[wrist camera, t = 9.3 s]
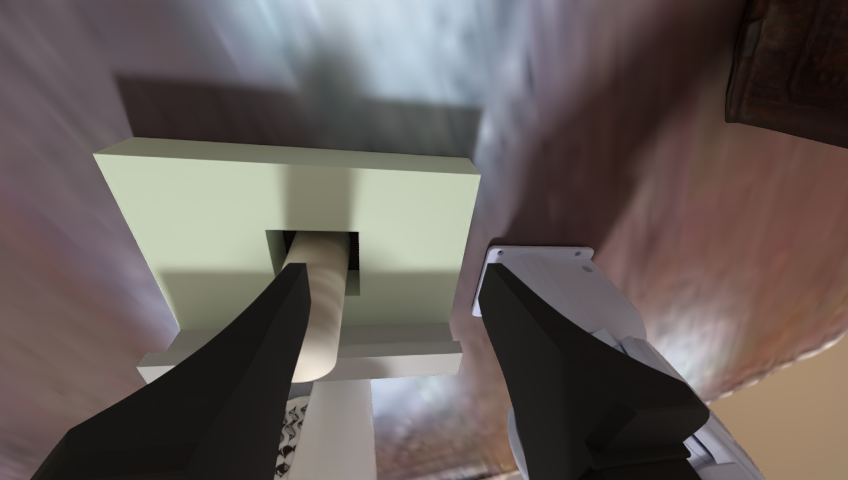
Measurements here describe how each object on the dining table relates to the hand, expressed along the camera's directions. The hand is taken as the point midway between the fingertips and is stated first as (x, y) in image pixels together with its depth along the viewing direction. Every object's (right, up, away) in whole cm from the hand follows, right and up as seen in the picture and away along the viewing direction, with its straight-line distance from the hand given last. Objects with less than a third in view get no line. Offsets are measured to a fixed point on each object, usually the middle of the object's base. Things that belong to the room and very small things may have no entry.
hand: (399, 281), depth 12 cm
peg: (-7, +2, +11) cm, 13 cm away
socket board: (-7, +2, +11) cm, 13 cm away
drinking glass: (-7, -11, +19) cm, 23 cm away
